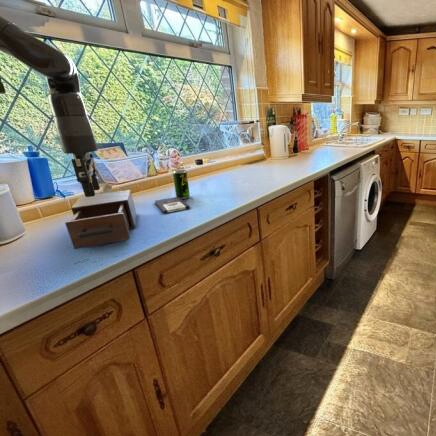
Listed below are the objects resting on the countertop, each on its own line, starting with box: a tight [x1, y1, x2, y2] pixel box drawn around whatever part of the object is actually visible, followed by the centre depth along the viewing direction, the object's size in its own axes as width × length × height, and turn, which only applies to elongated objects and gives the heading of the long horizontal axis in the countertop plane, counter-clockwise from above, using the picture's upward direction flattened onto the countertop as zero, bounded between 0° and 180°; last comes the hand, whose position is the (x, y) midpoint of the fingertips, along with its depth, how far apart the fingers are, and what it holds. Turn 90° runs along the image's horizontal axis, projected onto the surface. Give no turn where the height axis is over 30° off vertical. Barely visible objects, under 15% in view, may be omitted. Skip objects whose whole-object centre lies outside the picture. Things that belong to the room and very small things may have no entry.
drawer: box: [64, 203, 131, 250], centre depth 87 cm, size 19×13×8 cm
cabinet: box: [70, 189, 138, 230], centre depth 99 cm, size 16×14×10 cm
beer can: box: [172, 168, 191, 200], centre depth 129 cm, size 5×5×12 cm
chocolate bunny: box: [99, 182, 113, 194], centre depth 120 cm, size 6×8×10 cm
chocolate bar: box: [154, 196, 190, 214], centre depth 120 cm, size 9×1×18 cm
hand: (93, 193), depth 85 cm, fingers open, 8 cm apart
